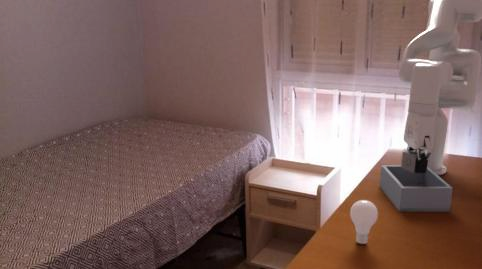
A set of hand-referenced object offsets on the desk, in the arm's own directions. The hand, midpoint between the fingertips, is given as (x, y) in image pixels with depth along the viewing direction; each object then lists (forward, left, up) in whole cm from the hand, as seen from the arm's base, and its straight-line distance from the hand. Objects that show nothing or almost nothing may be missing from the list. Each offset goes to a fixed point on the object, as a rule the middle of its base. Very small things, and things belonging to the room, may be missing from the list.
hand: (415, 167), depth 132 cm
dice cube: (0, 0, -1) cm, 1 cm away
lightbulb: (+26, -22, -10) cm, 36 cm away
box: (0, 0, -9) cm, 9 cm away
